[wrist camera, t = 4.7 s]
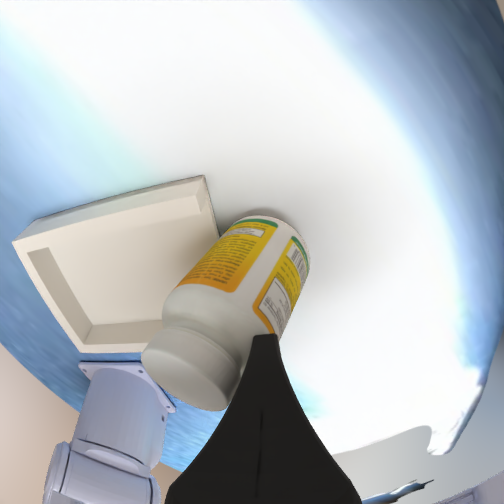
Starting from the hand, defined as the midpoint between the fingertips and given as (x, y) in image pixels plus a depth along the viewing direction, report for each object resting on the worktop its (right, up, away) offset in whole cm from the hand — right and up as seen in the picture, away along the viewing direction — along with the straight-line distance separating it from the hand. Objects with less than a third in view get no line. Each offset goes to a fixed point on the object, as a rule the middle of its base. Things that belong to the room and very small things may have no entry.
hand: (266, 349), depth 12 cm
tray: (-8, +3, +8) cm, 12 cm away
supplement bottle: (0, +4, +7) cm, 8 cm away
